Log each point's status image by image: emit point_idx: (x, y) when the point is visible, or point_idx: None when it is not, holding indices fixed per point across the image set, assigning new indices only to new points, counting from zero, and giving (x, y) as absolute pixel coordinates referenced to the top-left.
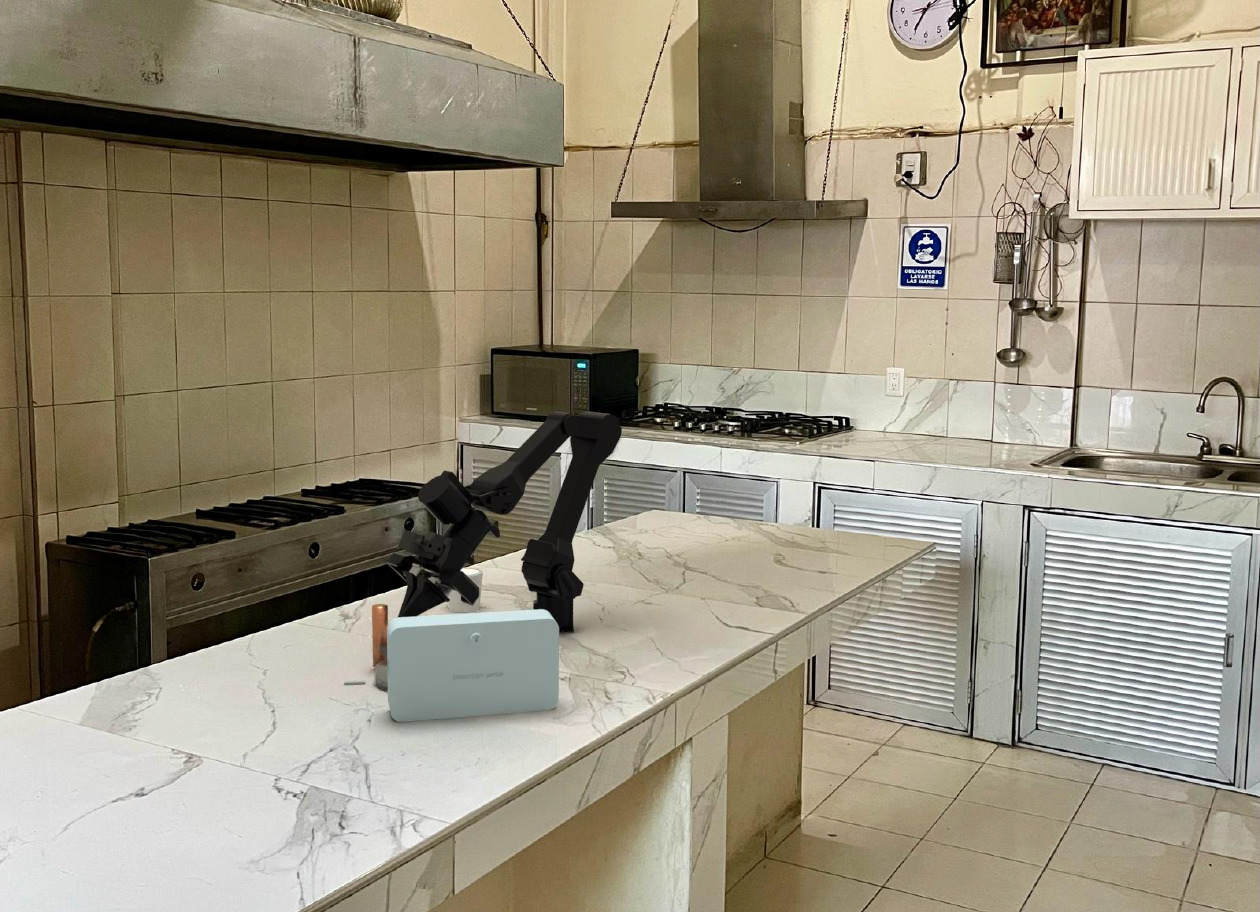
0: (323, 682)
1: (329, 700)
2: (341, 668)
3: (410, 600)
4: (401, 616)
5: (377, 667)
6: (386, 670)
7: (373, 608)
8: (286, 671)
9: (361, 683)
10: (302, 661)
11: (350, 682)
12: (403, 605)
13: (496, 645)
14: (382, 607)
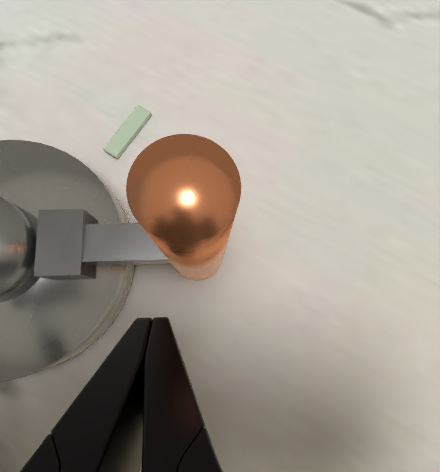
0: (196, 79)
1: (57, 28)
2: (278, 170)
3: (98, 433)
4: (132, 328)
5: (62, 160)
6: (11, 165)
7: (178, 138)
8: (342, 51)
9: (110, 143)
10: (403, 118)
11: (129, 118)
12: (162, 380)
13: None
14: (138, 182)
